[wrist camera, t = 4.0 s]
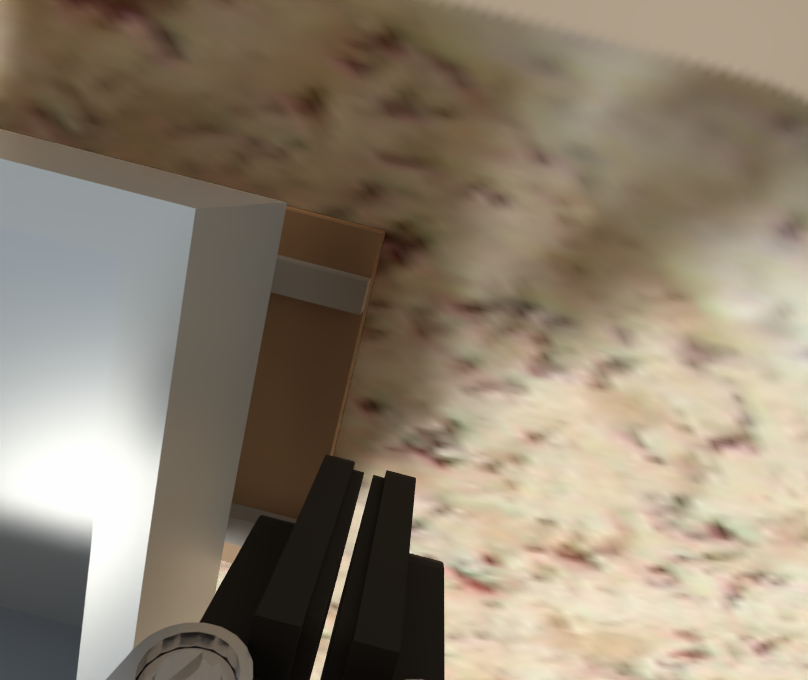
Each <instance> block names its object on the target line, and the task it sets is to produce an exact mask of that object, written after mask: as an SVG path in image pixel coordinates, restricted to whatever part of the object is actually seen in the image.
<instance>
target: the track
mask: <svg viewBox="0 0 808 680" xmlns="http://www.w3.org/2000/svg"><path fill="white" fill-rule="evenodd" d="M385 232H386V231H384V230H380V229H376V228H372V227H368V226H365V225H361V224H357V223H353V222H349V221H345V220H341V219H337V218H333V217H329V216H326V215H322V214H318V213H314V212H310V211H306V210H302V209H298V208H294V207H291V206H286V211H285V216H284V222H283V227H282V233H281V238H280V244H279V249H278V254H277V260H276V265H275V271H274V276H273V281H272V287H271V292H270V298H269V303H268V308H267V314H266V319H265V325H264V330H263V335H262V341H261V346H260V352H259V357H258V363H257V368H256V373H255V379H254V384H253V390H252V395H251V400H250V406H249V411H248V417H247V422H246V427H245V433H244V438H243V444H242V449H241V454H240V460H239V465H238V471H237V476H236V482H235V487H234V492H233V498H232V503H231V509H230V514H229V519H228V525H227V530H226V536H225V541H224V546H223V552H222V557H221V560H222V561H226V562H230V563H233V562H234V560H235V558H236V556H237V554H238V553H239V551H240V549H241V547H242V546H243V544H244V542H245V540H246V538H247V537H248V535H249V533H250V531H251V530H252V528H253V526H254V524H255V522H256V521H257V519H258V518H259V516H261V515H265V516H269V517H272V518H276V519H280V520H284V521H288V522H292V523H296V521H297V518H298V516H299V514H300V511H301V509H302V507H303V505H304V502H305V500H306V498H307V496H308V493H309V491H310V489H311V487H312V484H313V482H314V480H315V477H316V475H317V473H318V471H319V468H320V466H321V464H322V462H323V459H324V457H325V455H326V454H327V455H330V456H333V454H334V450H335V445H336V441H337V437H338V433H339V428H340V424H341V420H342V416H343V411H344V407H345V403H346V399H347V394H348V390H349V386H350V381H351V377H352V373H353V369H354V364H355V360H356V356H357V352H358V347H359V343H360V339H361V334H362V330H363V326H364V322H365V317H366V313H367V309H368V305H369V300H370V296H371V292H372V288H373V283H374V279H375V275H376V270H377V266H378V262H379V258H380V253H381V249H382V245H383V241H384V236H385Z"/></svg>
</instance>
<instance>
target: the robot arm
mask: <svg viewBox="0 0 808 680" xmlns="http://www.w3.org/2000/svg"><path fill="white" fill-rule="evenodd" d="M354 464H355V462H353V461H350V460H346V459H342V458H338V457H334V456H330V455H327V454H326V455H325V457H324V459H323V462H322V464H321V466H320V468H319V471H318V473H317V475H316V477H315V480H314V482H313V484H312V487H311V489H310V491H309V493H308V496H307V498H306V500H305V502H304V505H303V507H302V509H301V511H300V514H299V516H298V518H297V521H296V523H292V522H288V521H284V520H280V519H276V518H272V517H269V516H265V515H261V516H259V518H258V519H257V521H256V522H255V524H254V526H253V528H252V530H251V531H250V533H249V535H248V537H247V538H246V540H245V542H244V544H243V546H242V547H241V549H240V551H239V553H238V554H237V556H236V558H235V560H234V562H233V563H232V565H231V567H230V569H229V570H228V572H227V574H226V576H225V578H224V579H223V581H222V583H221V585H220V586H219V588H218V590H217V592H216V594H215V595H214V597H213V599H212V601H211V602H210V604H209V606H208V608H207V610H206V611H205V613H204V615H203V617H202V619H201V620H200V622H199V623H181V624H177V625H173V626H168V627H165V628H163V629H161V630H159V631H157V632H155V633H153V634H151V635H149V636H148V637H147V638H145V639H144V640H143V641H142V642H141V643H140V644H138V645H137V646H136V647H135V648H134V649H133V650H132V651H131V652H130V653H129V654H128V655H127V657H126V658H125V659H124V660H123V661H122V662H121V663H120V664H119V665H118V667H117V668H116V669H115V670H114V671H113V672H112V673H111V674H110V675H109V676H108V678H107V679H106V680H310V677H311V673H312V669H313V666H314V662H315V658H316V654H317V651H318V647H319V643H320V640H321V636H322V632H323V629H324V625H325V621H326V618H327V614H328V610H329V606H330V603H331V599H332V595H333V591H334V587H335V583H336V580H337V576H338V572H339V568H340V564H341V560H342V556H343V553H344V549H345V545H346V541H347V537H348V533H349V529H350V526H351V522H352V518H353V514H354V510H355V506H356V502H357V499H358V495H359V491H360V487H361V483H362V479H363V475H364V472H360V471H356V470H353V468H354ZM415 484H416V478H415V477H411V476H407V475H403V474H399V473H395V472H392V471H388V470H387V471H386V474H385V478H383V477H379V476H375V475H373V479H372V482H371V486H370V490H369V494H368V498H367V501H366V505H365V509H364V513H363V516H362V520H361V524H360V528H359V532H358V535H357V539H356V543H355V547H354V550H353V554H352V558H351V562H350V566H349V569H348V573H347V577H346V581H345V584H344V588H343V592H342V596H341V600H340V603H339V607H338V611H337V615H336V619H335V623H334V627H333V631H332V635H331V639H330V643H329V647H328V651H327V655H326V659H325V663H324V667H323V671H322V675H321V679H320V680H444V564H443V562H441V561H437V560H433V559H429V558H426V557H422V556H418V555H414V554H410V553H409V549H410V538H411V527H412V516H413V505H414V494H415Z"/></svg>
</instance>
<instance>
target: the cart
mask: <svg viewBox="0 0 808 680" xmlns="http://www.w3.org/2000/svg"><path fill="white" fill-rule="evenodd" d="M286 206H287V202H284V201H280V200H276V199H272V198H268V197H264V196H261V195H257V194H253V193H249V192H245V191H241V190H237V189H233V188H229V187H226V186H222V185H218V184H214V183H210V182H206V181H202V180H198V179H194V178H190V177H187V176H183V175H179V174H175V173H171V172H167V171H163V170H159V169H155V168H152V167H148V166H144V165H140V164H136V163H132V162H128V161H124V160H120V159H116V158H113V157H109V156H105V155H101V154H97V153H93V152H89V151H85V150H81V149H78V148H74V147H70V146H66V145H62V144H58V143H54V142H50V141H46V140H42V139H39V138H35V137H31V136H27V135H23V134H19V133H15V132H11V131H7V130H4V129H0V680H106V679H107V678H108V676H109V675H110V674H111V673H112V672H113V671H114V670H115V669H116V668H117V667H118V665H119V664H120V663H121V662H122V661H123V660H124V659H125V658H126V657H127V655H128V654H129V653H130V652H131V651H132V650H133V649H134V648H135V647H136V646H137V645H138V644H140V643H141V642H142V641H143V640H144V639H145V638H147V637H148V636H149V635H151V634H153V633H155V632H157V631H159V630H161V629H163V628H165V627H168V626H173V625H177V624H181V623H199V622H200V620H201V619H202V617H203V615H204V613H205V611H206V610H207V608H208V606H209V604H210V602H211V601H212V599H213V597H214V595H215V590H216V584H217V579H218V573H219V568H220V563H221V557H222V552H223V546H224V541H225V536H226V530H227V525H228V519H229V514H230V509H231V503H232V498H233V492H234V487H235V482H236V476H237V471H238V465H239V460H240V454H241V449H242V444H243V438H244V433H245V427H246V422H247V417H248V411H249V406H250V400H251V395H252V390H253V384H254V379H255V373H256V368H257V363H258V357H259V352H260V346H261V341H262V335H263V330H264V325H265V319H266V314H267V308H268V303H269V298H270V292H271V287H272V281H273V276H274V271H275V265H276V260H277V254H278V249H279V244H280V238H281V233H282V227H283V222H284V216H285V211H286Z"/></svg>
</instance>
